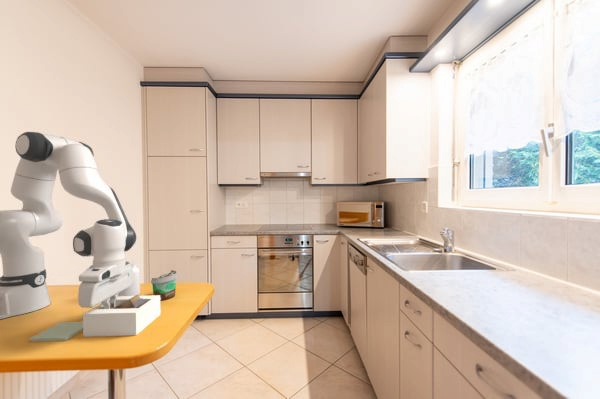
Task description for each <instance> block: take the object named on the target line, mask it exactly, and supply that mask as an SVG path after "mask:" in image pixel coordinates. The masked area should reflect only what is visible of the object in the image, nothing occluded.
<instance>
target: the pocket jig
mask: <svg viewBox="0 0 600 399" xmlns="http://www.w3.org/2000/svg"><path fill="white" fill-rule="evenodd" d="M132 297H134V296H118V297H117V299H116V302H115V307H116V306H118V305H120V304H121V303H123V302H125V301H127V300H129V299H130V298H132ZM139 297H140V299H141V298H143V300H145V302H143V303H142V304H141V305H139V306H138V307H136V308H128V309H113V308H112V309H104V306H103V304H102V303H99V304H98V305H96V306H94V307H92V308H91V309H90V310H87V311H85V312H84V313H83V314H82V322H83V331H82V332H83V333H82V334H83V337H116V336H117V337H119V336H137V335H138V334H140V332H142V331H143V330H144V329H145V328H147V327H148V326H149V325H150V324H151V323H152V322H153V321H154V320H156V319H158V318H159V316H161V312H162V311H161V301H160V295H153V294H152V295H151V294H150V295H139Z"/></svg>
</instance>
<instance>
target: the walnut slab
mask: <svg viewBox="0 0 600 399" xmlns="http://www.w3.org/2000/svg"><path fill="white" fill-rule="evenodd" d="M139 296H140V295H138V294H137V295H136V296H134V297H132V298H130V299H129V300H127V301H125V302H123V303H121V304H120V305H118V306H116V307H114V308H113V309H128V308H132V307H134V305H133V303H135V302H136V301H138V300H139V299H140V297H139Z"/></svg>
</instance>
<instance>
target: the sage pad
mask: <svg viewBox="0 0 600 399" xmlns="http://www.w3.org/2000/svg"><path fill="white" fill-rule="evenodd" d="M81 332H83V321H67V322H66V321H64V322H58V323H57V324H55V325H53V326H51V327H49V328H47V329H45V330H44V331H41V332H39V333H38V334H36V335H33V336H32V337H30V338H28V339H29V342H54V341H55V342H57V341H58V342H59V341H61V342H62V341H65V342H66V341H68V340H70V339H71V338H73V337H75V336H76V335H78V334H79V333H81Z"/></svg>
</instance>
